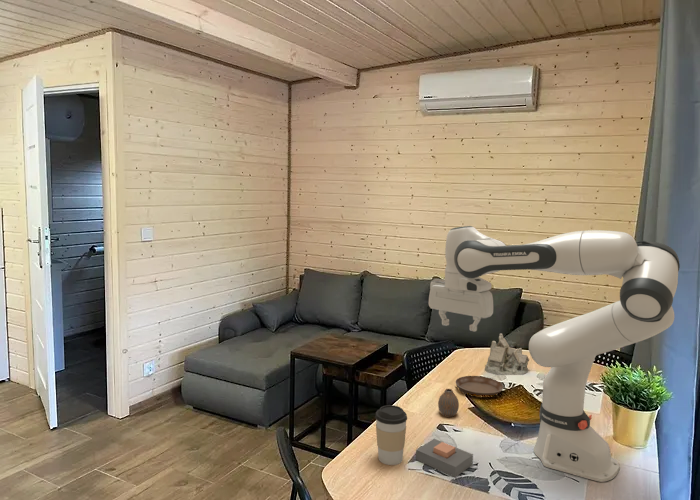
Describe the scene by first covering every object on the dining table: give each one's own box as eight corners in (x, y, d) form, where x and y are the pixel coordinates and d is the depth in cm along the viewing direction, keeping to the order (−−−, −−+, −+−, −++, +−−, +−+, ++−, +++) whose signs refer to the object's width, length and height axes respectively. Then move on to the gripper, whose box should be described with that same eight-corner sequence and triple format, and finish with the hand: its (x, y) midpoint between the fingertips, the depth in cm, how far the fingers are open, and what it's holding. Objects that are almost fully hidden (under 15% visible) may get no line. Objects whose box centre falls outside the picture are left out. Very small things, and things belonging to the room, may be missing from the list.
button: (455, 458, 146) (455, 447, 145) (446, 464, 142) (446, 453, 142) (441, 452, 149) (442, 441, 148) (433, 458, 145) (433, 447, 145)
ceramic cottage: (479, 369, 219) (483, 335, 217) (499, 362, 230) (504, 330, 228) (512, 382, 208) (516, 346, 205) (532, 374, 219) (537, 340, 216)
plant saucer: (476, 379, 209) (477, 372, 209) (512, 393, 194) (513, 386, 194) (445, 388, 199) (445, 381, 199) (480, 404, 185) (481, 396, 184)
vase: (458, 419, 172) (459, 394, 171) (437, 417, 173) (438, 393, 172) (458, 411, 179) (459, 386, 178) (438, 409, 180) (438, 385, 179)
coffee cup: (386, 447, 154) (387, 399, 152) (412, 457, 148) (413, 407, 146) (368, 459, 147) (368, 409, 145) (394, 470, 141) (395, 418, 139)
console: (472, 464, 144) (473, 454, 144) (455, 477, 138) (455, 467, 138) (433, 448, 153) (434, 438, 153) (415, 459, 147) (416, 449, 146)
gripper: (424, 278, 155) (423, 323, 156) (485, 286, 141) (484, 336, 142) (436, 276, 160) (435, 320, 161) (496, 284, 145) (495, 332, 147)
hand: (458, 328), depth 151 cm, fingers open, 8 cm apart
